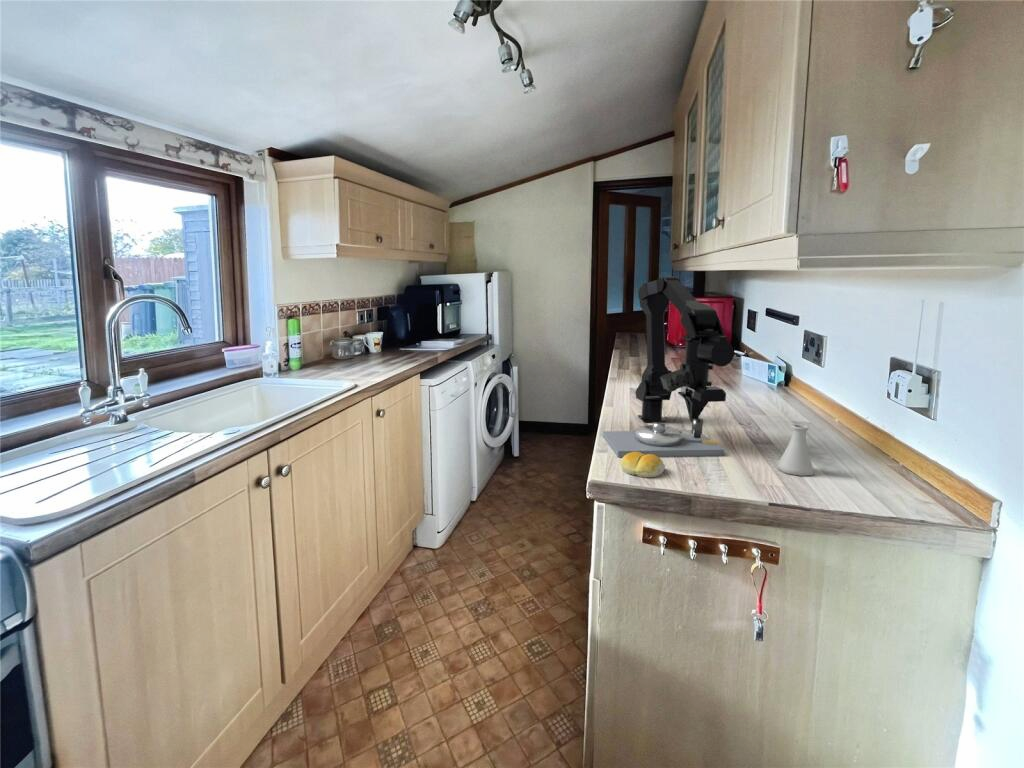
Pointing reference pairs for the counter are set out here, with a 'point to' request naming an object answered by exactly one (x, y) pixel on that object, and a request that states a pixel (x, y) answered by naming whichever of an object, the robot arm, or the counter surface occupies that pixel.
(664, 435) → the silver round handled piece
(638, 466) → the bread roll
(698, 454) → the slate board
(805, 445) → the flask
